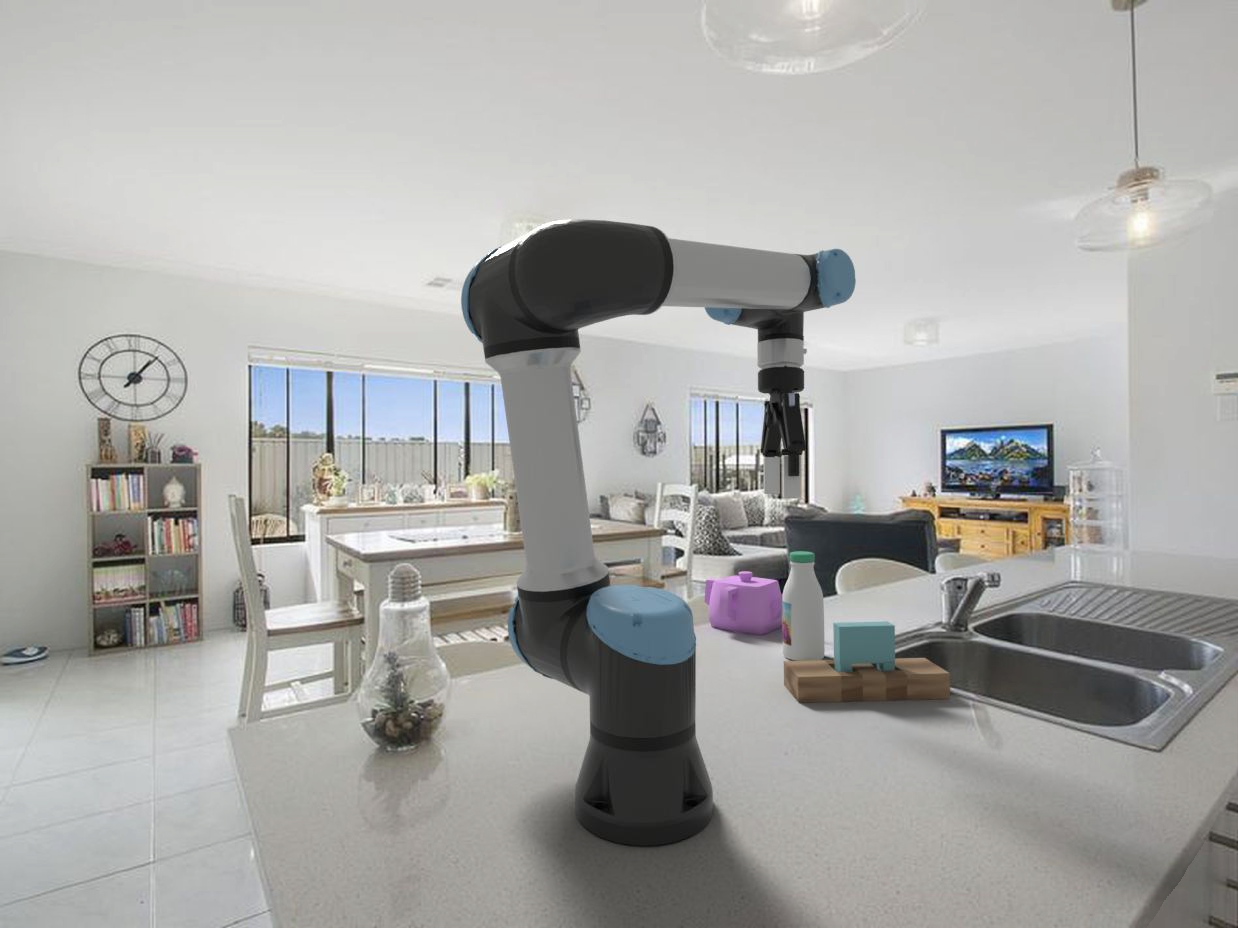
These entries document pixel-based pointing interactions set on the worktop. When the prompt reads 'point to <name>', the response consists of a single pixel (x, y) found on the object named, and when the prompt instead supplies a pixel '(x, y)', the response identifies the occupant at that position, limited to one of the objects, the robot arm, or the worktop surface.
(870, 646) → the clip
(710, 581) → the teakettle
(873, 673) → the wooden slotted block
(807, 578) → the milk bottle
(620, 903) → the worktop surface
